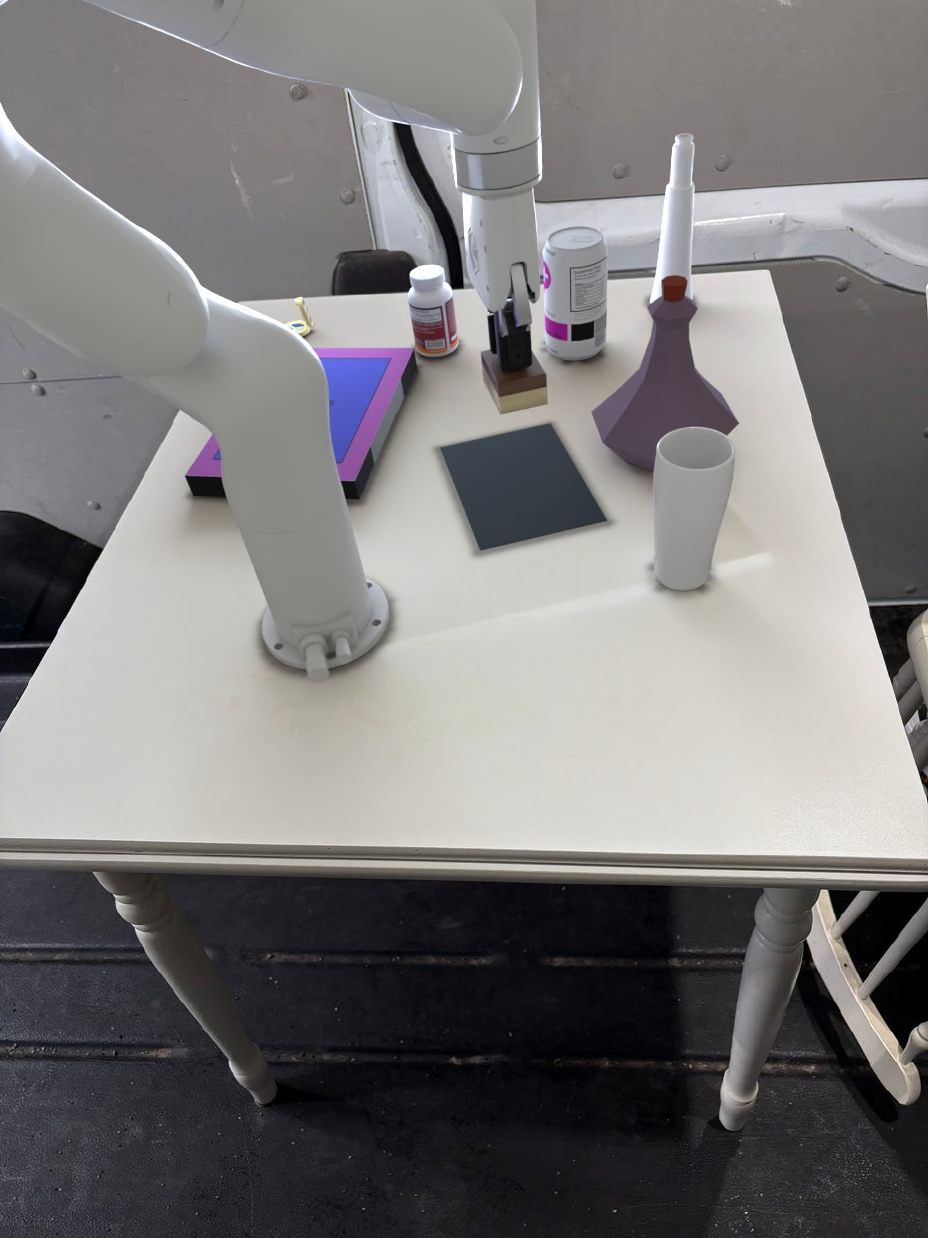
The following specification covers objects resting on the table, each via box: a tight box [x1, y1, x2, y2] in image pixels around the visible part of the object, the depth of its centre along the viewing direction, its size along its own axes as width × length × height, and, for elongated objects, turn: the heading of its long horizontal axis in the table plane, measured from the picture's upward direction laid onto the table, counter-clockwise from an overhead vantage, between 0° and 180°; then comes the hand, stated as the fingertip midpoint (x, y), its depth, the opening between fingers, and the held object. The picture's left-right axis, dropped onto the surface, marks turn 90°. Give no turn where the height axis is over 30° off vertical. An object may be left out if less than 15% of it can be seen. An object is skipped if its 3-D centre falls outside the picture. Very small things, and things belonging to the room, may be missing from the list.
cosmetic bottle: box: [649, 132, 696, 304], centre depth 114 cm, size 6×6×22 cm
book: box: [184, 347, 418, 501], centre depth 107 cm, size 21×3×30 cm
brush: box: [480, 298, 549, 416], centre depth 84 cm, size 7×5×10 cm
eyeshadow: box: [284, 296, 314, 338], centre depth 126 cm, size 4×5×5 cm
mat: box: [439, 422, 608, 551], centre depth 95 cm, size 20×14×1 cm
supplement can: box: [542, 225, 609, 361], centre depth 110 cm, size 8×8×15 cm
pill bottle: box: [407, 264, 459, 358], centre depth 115 cm, size 6×6×11 cm
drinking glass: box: [652, 427, 737, 592], centre depth 77 cm, size 7×7×15 cm
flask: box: [590, 275, 740, 473], centre depth 90 cm, size 16×16×20 cm
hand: (510, 357), depth 84 cm, fingers closed on brush, 3 cm apart
